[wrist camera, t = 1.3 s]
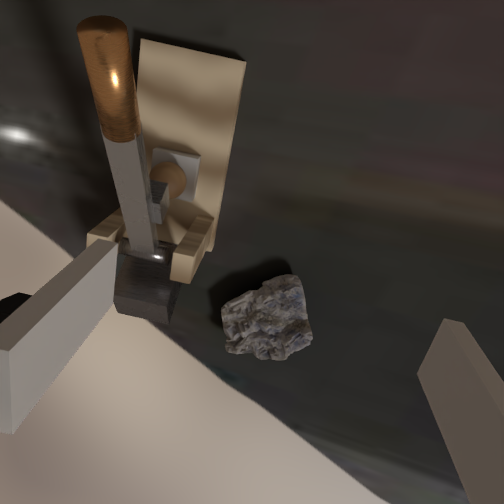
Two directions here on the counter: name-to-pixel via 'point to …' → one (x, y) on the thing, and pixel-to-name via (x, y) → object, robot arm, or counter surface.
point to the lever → (129, 173)
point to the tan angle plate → (184, 145)
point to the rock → (268, 320)
